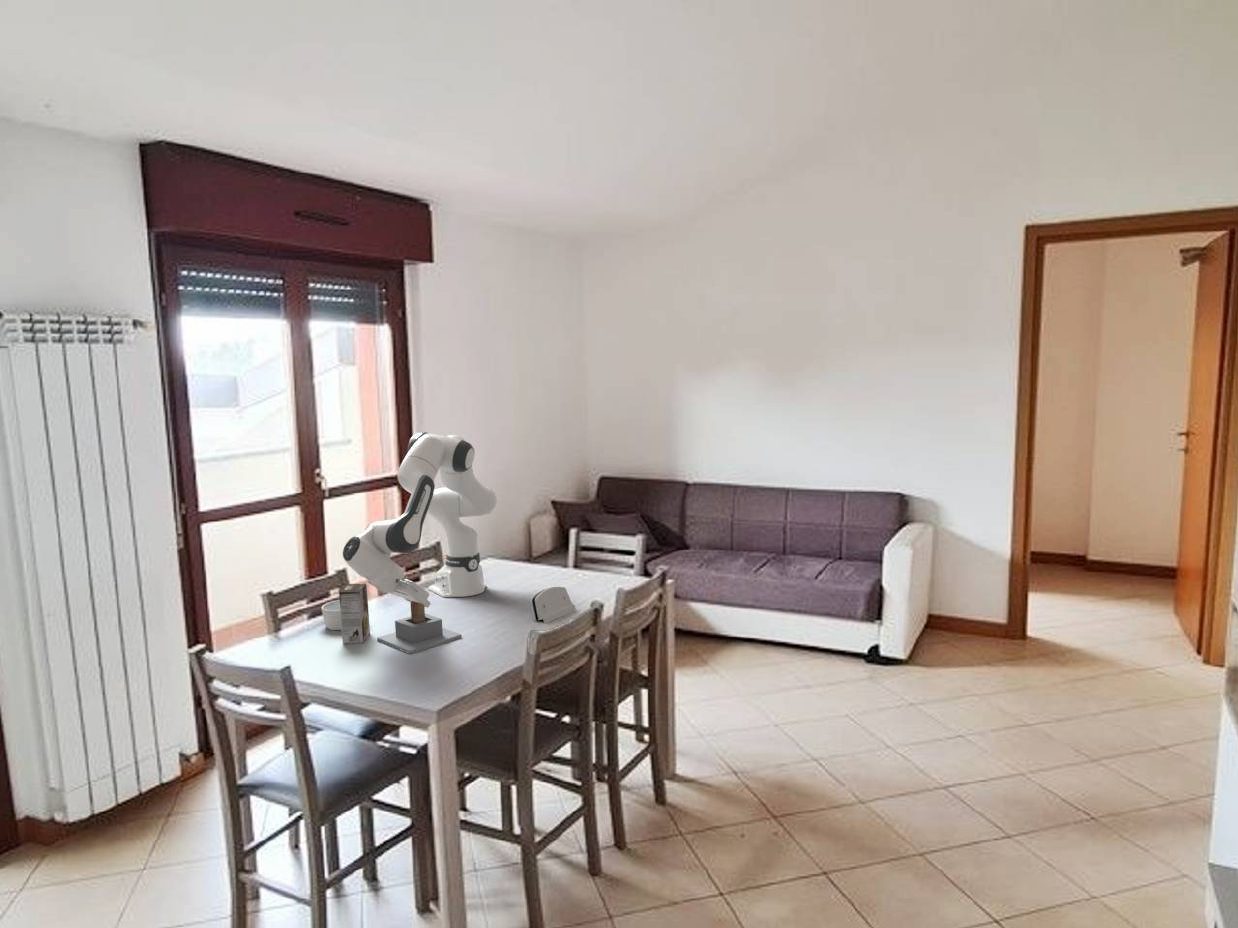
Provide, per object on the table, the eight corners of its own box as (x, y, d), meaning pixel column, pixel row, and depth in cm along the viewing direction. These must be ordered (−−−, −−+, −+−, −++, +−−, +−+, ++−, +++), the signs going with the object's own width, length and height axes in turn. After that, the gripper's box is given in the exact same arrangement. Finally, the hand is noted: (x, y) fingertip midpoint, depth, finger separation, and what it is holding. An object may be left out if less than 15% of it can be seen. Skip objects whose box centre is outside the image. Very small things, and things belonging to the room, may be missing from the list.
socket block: (377, 640, 239) (376, 621, 238) (428, 625, 252) (427, 607, 251) (409, 654, 226) (408, 633, 226) (461, 637, 240) (460, 618, 239)
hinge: (545, 623, 251) (535, 593, 252) (534, 626, 254) (525, 596, 254) (577, 609, 265) (568, 581, 265) (566, 612, 267) (558, 583, 268)
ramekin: (374, 622, 257) (373, 601, 256) (343, 634, 246) (342, 612, 245) (345, 617, 263) (344, 596, 262) (313, 629, 252) (312, 607, 251)
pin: (409, 636, 239) (407, 597, 237) (421, 632, 242) (419, 594, 240) (417, 639, 236) (414, 600, 235) (428, 635, 239) (426, 597, 238)
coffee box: (349, 634, 246) (346, 583, 244) (370, 632, 246) (367, 582, 244) (341, 644, 237) (338, 591, 235) (363, 642, 237) (360, 590, 235)
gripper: (414, 574, 224) (445, 599, 233) (376, 563, 238) (407, 587, 246) (401, 592, 222) (432, 617, 230) (364, 580, 236) (395, 604, 244)
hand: (419, 602), depth 238 cm, fingers open, 8 cm apart
